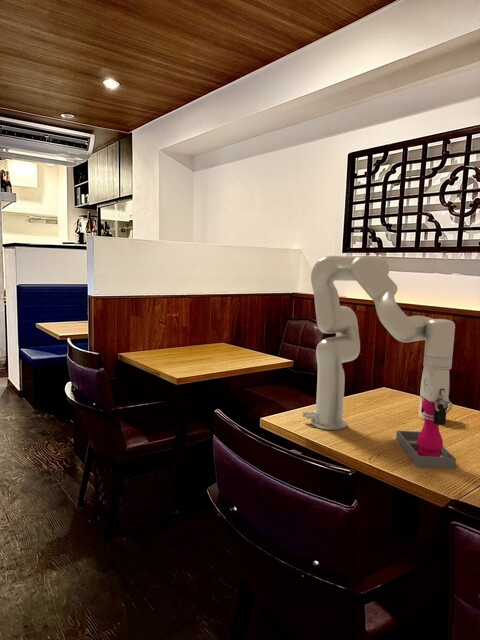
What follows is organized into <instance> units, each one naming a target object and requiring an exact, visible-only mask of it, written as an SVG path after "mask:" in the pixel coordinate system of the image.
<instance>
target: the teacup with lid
mask: <svg viewBox="0 0 480 640" xmlns="http://www.w3.org/2000/svg"><path fill="white" fill-rule="evenodd" d="M448 405H449V406H448V408H447V412H446V414H448V413H450V411H451V412H452V409H453V403H452V402H451V401H450V400H449V403H448ZM421 409H422V395H421V394H419V408H418V417H419V418H420V419H422V420H424V417H423V413H422V412H421Z"/></svg>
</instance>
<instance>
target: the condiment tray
mask: <svg viewBox="0 0 480 640" xmlns="http://www.w3.org/2000/svg"><path fill="white" fill-rule="evenodd" d="M420 432H421V430H419V431H418V430H416V431H415V430H414V431H413V430H399V429H398V430H396V433H395V434H396V435H395V440H396V441H397V443H398V444H399V445H400V447H401V448H402V449H403V451H404V452H405V453H406V454H407V456H408V457H409V459H411V460H410V461H412V462H413V464H414V465H415V466H416V467H417V468H425V469H426V468H428V469H430V468H431V469H450V470H453V469H454V470H455V469H456V463H457V458H456V457H455V456H454V455H453V454H452V453H451V452H450V451H449V450H448V449H447V448H446V447H445V446H444V445H443V448H442V449H441V450H440V451H439V452H440V457H430V456H419V455H418V454H417V453H418V449H419V446H418V445H417V438H418V435H419V433H420Z"/></svg>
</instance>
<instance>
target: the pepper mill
mask: <svg viewBox="0 0 480 640" xmlns="http://www.w3.org/2000/svg"><path fill="white" fill-rule="evenodd" d="M438 405H439V406H440V404H438ZM422 408H423V409H424V412H423V417H424V421H423V426H422V429H421V430H420V433H419V435H418V438H417V445H418V446H419V449H418V453H417V454H418V455H419V456H430V457H440V452H439V451H440V450H441V449H442V448H443V446H444V441H443V437H442V435H441V432H440V425H435V424H434V423H433V420H434V410H436V408H435V403H434V402H432V403H431V402H429V401H428V400H427V399H426V398H425V399H424V400H423V402H422Z"/></svg>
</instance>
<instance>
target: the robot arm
mask: <svg viewBox="0 0 480 640" xmlns="http://www.w3.org/2000/svg"><path fill="white" fill-rule="evenodd" d="M389 273H390V265H389V263H388V262H387V260H386V259H384V258H383V257H381V256H376V255H360V256H343V255H342V256H340V255H327V256H324V257H322V258H319V259H318V260H317V261H316V262H315V264H314V265H313V267H312V269H311V273H310V282H311V286H312V292H313V297H314V307H315V317H316V324H317V328H318V330H319V331H320V332H321V333H323V334H335V336H331V337H326V338H324V339H322V340H321V341H319V343H318V344H317V346H316V350H315V357H316V363H317V377H316V378H317V381H316V382H317V384H316V400H315V401H316V402H315V408H314V409H313V410H312V411H302V417H303V418H306V419H308V420H309V419H310V424H311V425H312V426H314V427H315V428H318V429H321V430H327V431H338V430H343V429H346V428H347V423H348V422H347V421H346V420H345V419H343V413H344V399H345V398H344V397H345V370H344V368H343V367H344V366H343V365H342V364H344V363H348V362H352V361H354V360H356V359H357V358H358V357H359V355H360V352H361V340H360V334H359V333H360V331H359V324H358V318H357V315H356V313H355V311H354V310H353V309H352V308H350V307H349V306H345V305H340V294H339V292H338V291H339V290H338V289H337V287H336V285H335V284H334V281H335V282H336V281H337V282H338V281H342V282H343V281H349V282H351V281H354V282H357V284H359V285H360V287H361V288H362V289H363V290H364V291H365V293H366V294H367V295H368V296H369V297H370V299H371V300H372V301H373V302H374V304H375V305H374V306H375V310H376V315H377V316H378V320H379V321H380V323H381V325H383V327H384V328H385V329H386V330H387V332H388V333H389V334H390V335H391V336H392V337H393V338H394V339H395V340H397V342H398V341H399V342H401V343H412V342H418V341H419V342H420V341H425V342H424V354H423V355H424V356H423V369H422V372H421V373H422V375H421V380H420V388H419V389H420V391H419V393H420V394H421V395H422V402H423V400H424V399H425V398H426V399H427V400H428V401H429V402H431V403H432V402H434V403H435V408H436V410H434V420H433V423H434V424H435V425H439V426H445V425H446V422H447V421H446V420H447V413H446V412H447V410H448V409H449V401H450V398H449V395H450V370H452V365H453V354H454V353H453V352H454V343H455V332H456V331H455V330H456V324H455V322H454V321H453V320H449V319H443V318H432V317H428V316H424V315H411V316H408V315H406V314H405V312H404V311H403V310H402V309H401V307H400V306H399V305H398V303H397V302H396V298H395V295H396V294H397V292H398V285H397V284H396V282H394V280H393V279H392V278H391V277H390V276H389ZM420 394H419V395H420ZM438 404H440V406H439V405H438ZM421 412H422V413H423V412H424V409H423V408H422V409H421Z"/></svg>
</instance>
